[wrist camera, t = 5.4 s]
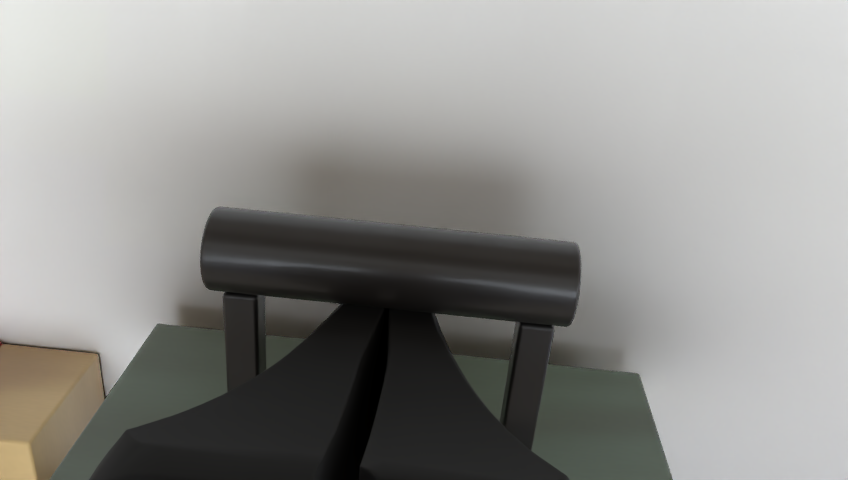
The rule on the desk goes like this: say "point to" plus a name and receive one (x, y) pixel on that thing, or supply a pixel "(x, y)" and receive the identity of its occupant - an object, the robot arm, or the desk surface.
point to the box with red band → (44, 407)
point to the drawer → (404, 290)
